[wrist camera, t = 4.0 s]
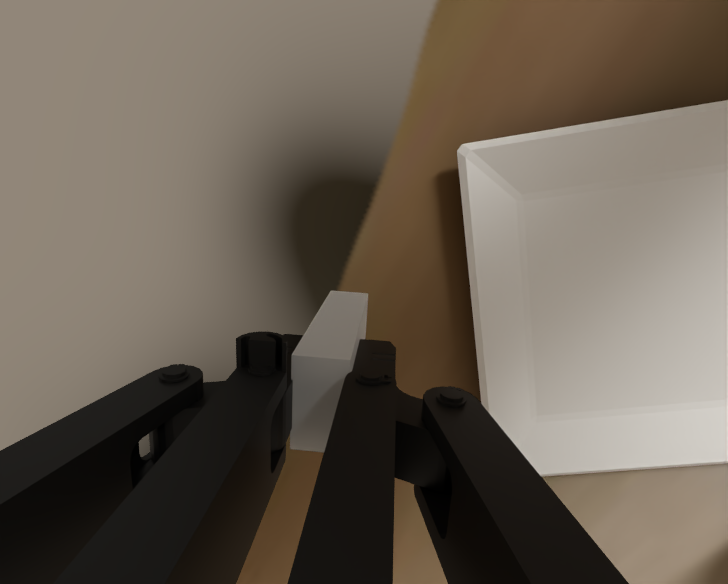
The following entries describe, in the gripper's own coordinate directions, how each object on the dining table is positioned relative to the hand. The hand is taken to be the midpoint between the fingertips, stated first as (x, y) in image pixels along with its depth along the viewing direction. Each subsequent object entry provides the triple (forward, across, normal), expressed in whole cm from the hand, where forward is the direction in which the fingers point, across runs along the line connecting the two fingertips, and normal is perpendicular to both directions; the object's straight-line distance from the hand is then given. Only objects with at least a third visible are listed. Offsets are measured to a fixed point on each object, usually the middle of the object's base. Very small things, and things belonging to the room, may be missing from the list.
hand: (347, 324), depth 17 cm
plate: (+8, +15, 0) cm, 17 cm away
